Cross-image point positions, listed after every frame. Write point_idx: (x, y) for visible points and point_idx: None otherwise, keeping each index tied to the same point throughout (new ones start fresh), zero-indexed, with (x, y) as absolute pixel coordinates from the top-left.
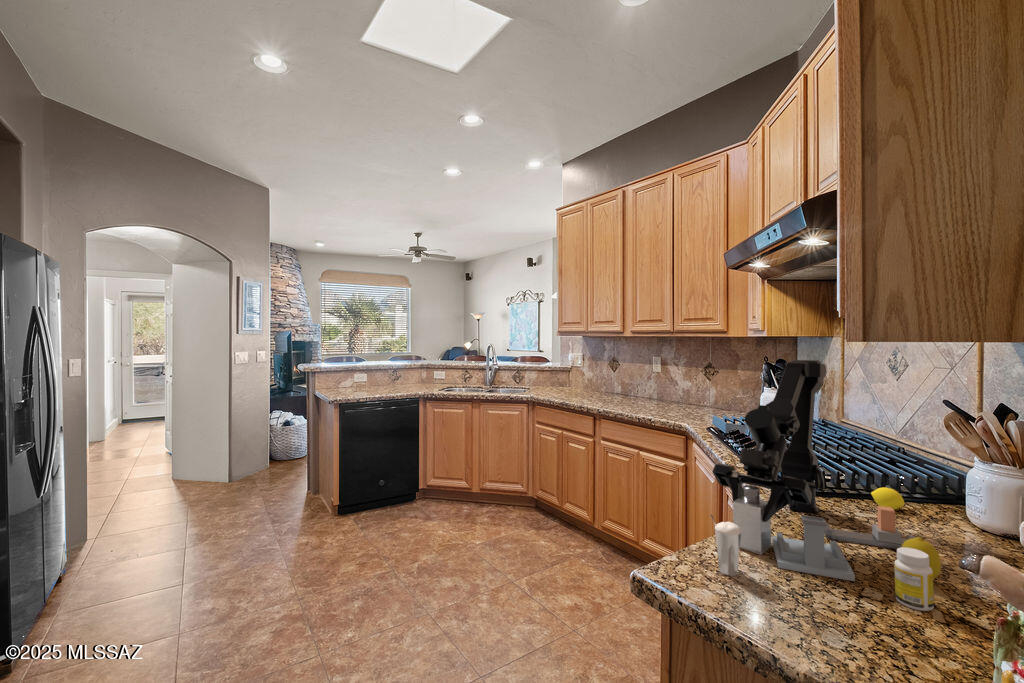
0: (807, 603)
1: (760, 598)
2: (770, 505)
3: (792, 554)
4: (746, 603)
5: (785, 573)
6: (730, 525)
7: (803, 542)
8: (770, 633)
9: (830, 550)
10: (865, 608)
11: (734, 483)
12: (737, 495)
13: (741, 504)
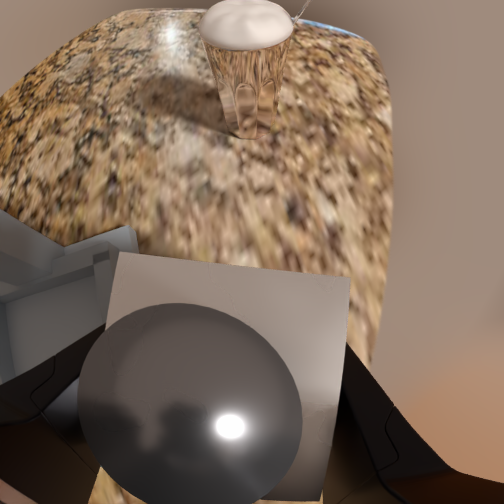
0: (88, 114)
1: (166, 74)
2: (68, 357)
3: (80, 250)
4: (187, 50)
5: (117, 211)
6: (232, 5)
7: None
8: (150, 25)
9: None
10: (10, 172)
11: (438, 491)
12: (356, 418)
13: (273, 271)
